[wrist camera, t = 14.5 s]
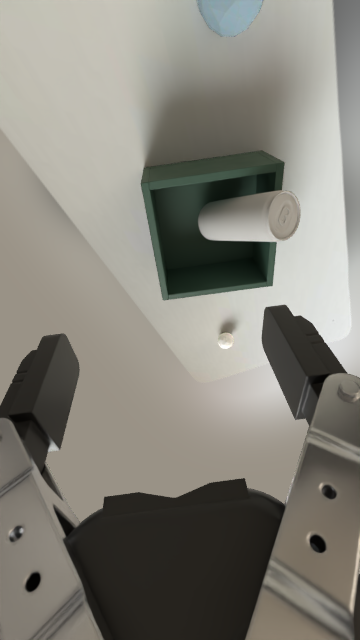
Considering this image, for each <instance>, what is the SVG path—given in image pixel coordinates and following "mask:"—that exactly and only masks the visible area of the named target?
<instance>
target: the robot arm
mask: <svg viewBox="0 0 360 640" xmlns="http://www.w3.org/2000/svg"><path fill="white" fill-rule="evenodd" d="M262 344H263V348H264V351H265V353H266V356H267V358H268V360H269V362H270V365H271V367H272V369H273V371H274V373H275V376H276V378H277V380H278V382H279V384H280V387H281V389H282V391H283V394H284V396H285V398H286V400H287V403H288V405H289V407H290V409H291V412H292V414H293V416H294V418H295V420H297V419H305V418H306V420H307V422H308V424H309V429H308V432H307V435H306V438H305V441H304V444H303V448H302V451H301V454H300V457H299V460H298V464H297V468H296V470H295V473H294V477H293V480H292V483H291V486H290V489H289V492H288V495H287V498H286V502H285V504H283V503H282V502H280V501H279V500H277V499H275V498H274V497H272V496H270V495H268V494H266V493H264V492H261V491H258V490H254V489H249V488H247V486H246V482H245V479H244V478H243V479H235V480H229V481H220V482H213V483H209V484H207V485H204V486H202V487H200V488H198V489H195V490H193V491H191V492H188V493H186V494H184V495H182V496H179V497H177V498H170V497H164V496H158V495H152V494H145V493H140V492H138V493H130V494H123V495H115V496H108V497H104V504H103V508H102V509H100V510H98V511H97V512H95V513H93V514H92V515H90V516H89V517H87V518H86V519H85V520H83V521H82V522H81V523H80V521H79V520H78V518H77V517H76V515H75V514H74V512H73V511H72V510H71V508H70V506H69V505H68V503H67V501H66V499H65V497H64V495H63V493H62V491H61V489H60V487H59V485H58V484H57V482H56V480H55V478H54V476H53V474H52V472H51V470H50V468H49V466H48V464H47V463H46V462H45V460H46V457H47V453H48V452H49V451H57V450H60V448H61V444H62V440H63V436H64V432H65V428H66V424H67V420H68V416H69V412H70V408H71V404H72V400H73V397H74V393H75V389H76V385H77V380H78V376H79V362H78V360H77V357H76V355H75V353H74V351H73V349H72V347H71V344H70V342H69V340H68V338H67V336H66V335H65V334H56V335H48V336H44V337H43V338H42V339H41V341H40V344H39V346H38V348H37V350H33V351H31V352H30V353H29V354H28V355H27V356H26V357H25V358H24V359H23V360H22V362H21V364H20V366H19V368H18V370H17V374H16V375H15V376H14V379H13V380H12V384H11V385H10V387H9V389H8V391H7V393H6V395H5V397H4V399H3V401H2V403H1V405H0V640H360V574H359V567H360V378H359V377H357V376H354V375H351V374H347V372H346V371H345V369H344V368H343V367H342V365H341V364H340V362H339V361H338V360H337V358H336V357H335V355H334V354H333V352H332V351H331V350H330V348H329V347H328V345H327V344H326V343H324V340H323V338H322V337H321V336H320V335H319V334H318V331H317V330H316V329H315V327H314V326H313V324H312V323H311V322H309V321H308V320H306V319H305V318H303V317H302V316H293V314H292V313H291V311H290V310H289V308H288V307H287V306H286V305H279V306H271V307H266V308H265V311H264V320H263V329H262Z"/></svg>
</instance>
